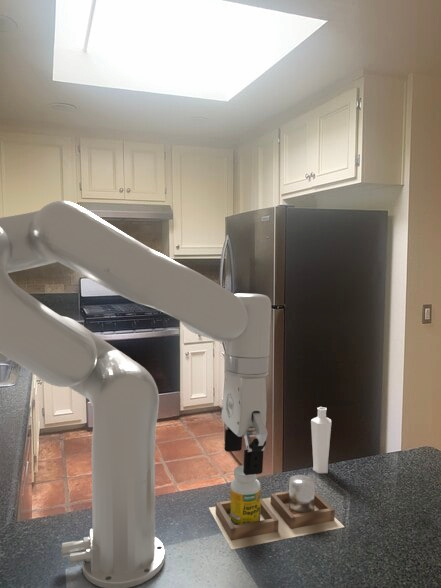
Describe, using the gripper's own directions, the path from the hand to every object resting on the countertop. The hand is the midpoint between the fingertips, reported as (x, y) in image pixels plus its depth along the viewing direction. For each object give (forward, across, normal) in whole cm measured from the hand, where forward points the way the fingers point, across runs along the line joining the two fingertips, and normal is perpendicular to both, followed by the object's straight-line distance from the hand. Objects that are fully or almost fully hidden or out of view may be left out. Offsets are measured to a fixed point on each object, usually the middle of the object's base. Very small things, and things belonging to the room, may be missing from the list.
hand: (242, 461), depth 78 cm
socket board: (+12, 0, +7) cm, 14 cm away
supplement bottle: (+11, 0, +1) cm, 11 cm away
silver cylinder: (+11, 0, +12) cm, 16 cm away
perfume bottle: (+11, -14, +25) cm, 31 cm away
